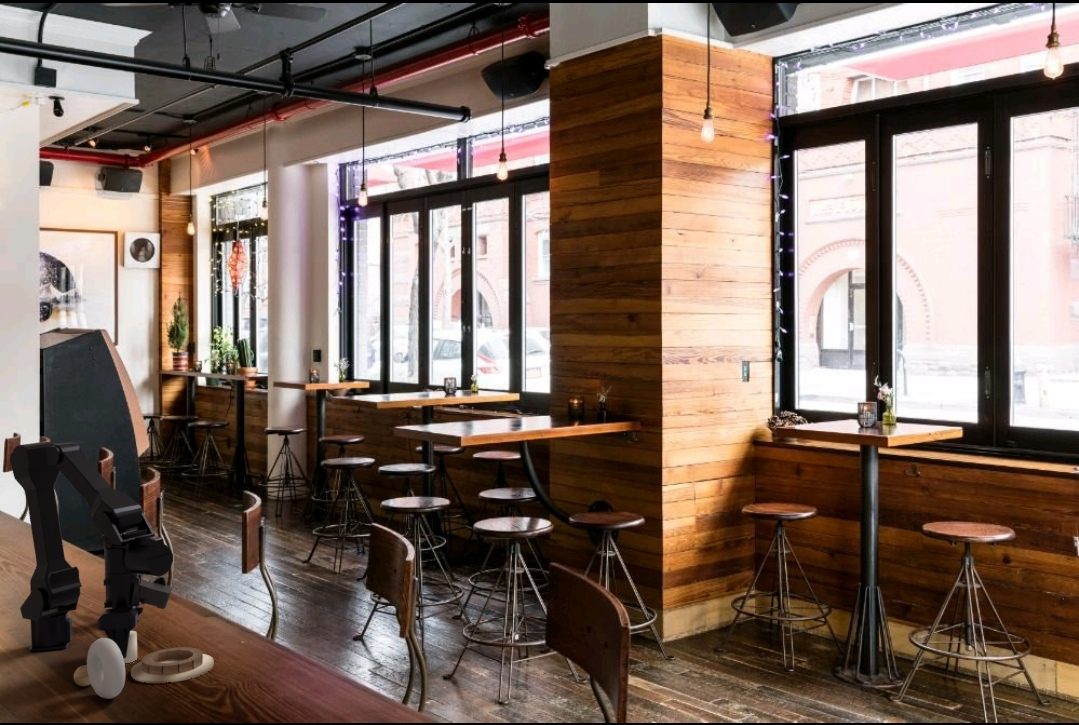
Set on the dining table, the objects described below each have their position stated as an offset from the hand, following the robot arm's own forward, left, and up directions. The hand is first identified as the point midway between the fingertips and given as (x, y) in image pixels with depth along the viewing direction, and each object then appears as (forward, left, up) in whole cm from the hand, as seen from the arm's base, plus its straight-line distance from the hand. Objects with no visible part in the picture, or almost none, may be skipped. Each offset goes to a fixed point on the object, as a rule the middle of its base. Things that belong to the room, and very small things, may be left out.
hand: (124, 654), depth 190 cm
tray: (+9, -8, -1) cm, 12 cm away
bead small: (-5, -12, -1) cm, 13 cm away
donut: (0, -19, -1) cm, 19 cm away
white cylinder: (0, 0, -1) cm, 1 cm away
